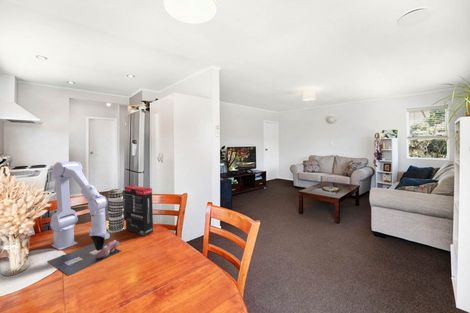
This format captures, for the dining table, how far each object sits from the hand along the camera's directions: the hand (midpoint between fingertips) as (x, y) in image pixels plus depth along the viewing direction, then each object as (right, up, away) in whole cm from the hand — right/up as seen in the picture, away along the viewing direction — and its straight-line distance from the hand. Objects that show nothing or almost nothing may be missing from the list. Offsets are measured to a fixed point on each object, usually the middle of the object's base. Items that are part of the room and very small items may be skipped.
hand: (99, 249), depth 101 cm
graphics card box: (+8, 0, +24) cm, 26 cm away
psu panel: (-4, -2, -3) cm, 5 cm away
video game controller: (+5, -2, -2) cm, 6 cm away
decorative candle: (-7, 0, +27) cm, 28 cm away
